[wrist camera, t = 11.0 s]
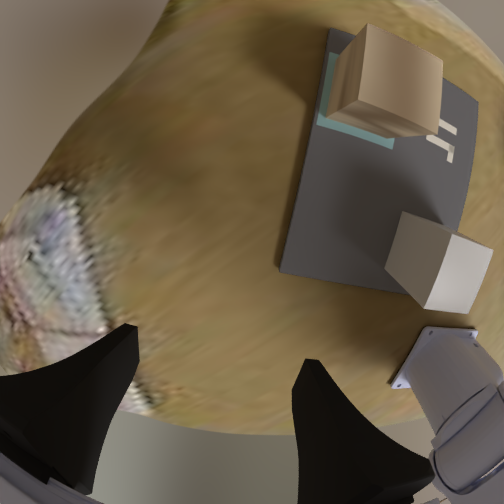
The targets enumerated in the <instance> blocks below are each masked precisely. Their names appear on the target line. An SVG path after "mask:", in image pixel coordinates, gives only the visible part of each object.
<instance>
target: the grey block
mask: <svg viewBox="0 0 504 504" xmlns="http://www.w3.org/2000/svg"><path fill="white" fill-rule="evenodd" d="M492 253H493V250H492V249H490V248H488V247H487V246H485V245H483V244H481V243H479V242H477V241H475V240H473V239H471V238H469V237H467V236H465V235H463V234H461V233H459V232H457V231H455V230H453V229H450V228H448V227H446V226H444V225H441V224H439V223H436V222H433V221H430V220H428V219H425V218H422V217H419V216H416V215H413V214H410V213H407V212H404V211H402V214H401V217H400V221H399V224H398V228H397V231H396V234H395V238H394V241H393V244H392V247H391V250H390V253H389V256H388V259H387V262H386V265H385V268H384V269H385V270H386V271H387V272H388V273H389V274H390V275H391V276H392V277H393V278H394V279H395V280H396V281H397V282H398V283H399V284H400V285H401V286H402V287H403V288H404V289H405V290H406V291H407V292H408V293H409V294H410V295H411V296H412V297H413V298H414V299H415V300H416V301H417V302H418V303H419V304H420V306H421V307H422V308H423V309H429V310H437V311H445V312H454V313H463V314H468V313H469V311H470V308H471V306H472V304H473V302H474V300H475V298H476V295H477V293H478V291H479V288H480V286H481V283H482V281H483V278H484V276H485V273H486V270H487V268H488V265H489V262H490V259H491V256H492Z"/></svg>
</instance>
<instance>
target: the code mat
mask: <svg viewBox="0 0 504 504" xmlns="http://www.w3.org/2000/svg"><path fill="white" fill-rule="evenodd" d="M355 37H356V36H355V35H352V34H349V33H346V32H343V31H340V30H337V29H334V28H330V29H329V32H328V38H327V44H326V50H325V56H324V61H323V67H322V73H321V78H320V83H319V89H318V94H317V99H316V104H315V110H314V115H313V120H312V125H311V130H310V134H309V139H308V144H307V149H306V154H305V158H304V163H303V167H302V172H301V177H300V181H299V186H298V190H297V194H296V199H295V203H294V208H293V212H292V216H291V220H290V225H289V229H288V233H287V237H286V241H285V245H284V250H283V254H282V258H281V262H280V266H279V272H281V273H286V274H292V275H297V276H303V277H308V278H314V279H319V280H325V281H331V282H336V283H342V284H348V285H353V286H359V287H365V288H371V289H377V290H383V291H389V292H395V293H401V294H407V295H410V294H409V293H408V292H407V291H406V290H405V289H404V288H403V287H402V286H401V285H400V284H399V283H398V282H397V281H396V280H395V279H394V278H393V277H392V276H391V275H390V274H389V273H388V272H387V271H386V270H385V269H384V268H385V265H386V262H387V259H388V256H389V253H390V250H391V247H392V244H393V241H394V238H395V234H396V231H397V228H398V224H399V221H400V217H401V214H402V211H404V212H407V213H410V214H413V215H416V216H419V217H422V218H425V219H428V220H430V221H433V222H436V223H439V224H441V225H444V226H446V227H448V228H450V229H453V230H455V231H457V230H458V227H459V223H460V220H461V216H462V212H463V208H464V204H465V200H466V196H467V191H468V186H469V181H470V176H471V170H472V164H473V158H474V151H475V143H476V133H477V121H478V101H476V100H475V99H474V98H472V97H471V96H469V95H468V94H467V93H465V92H464V91H462V90H461V89H459V88H458V87H456V86H455V85H453V84H452V83H450V82H449V81H447V80H446V79H444V78H442V97H441V109H440V119H439V127H438V135H422V136H409V137H398V138H388V139H386V138H384V137H381V136H378V135H376V134H373V133H370V132H367V131H364V130H362V129H359V128H356V127H353V126H350V125H346V124H343V123H340V122H337V121H333V120H330V119H327V118H326V112H327V107H328V102H329V96H330V91H331V85H332V79H333V74H334V68H335V62H336V59H337V58H338V57H339V55H340V54H341V53H342V52H343V51H344V49H345V48H346V47H347V46H348V45H349V44H350V42H351V41H352V40H353V39H354V38H355Z"/></svg>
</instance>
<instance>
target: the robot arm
mask: <svg viewBox="0 0 504 504" xmlns="http://www.w3.org/2000/svg"><path fill="white" fill-rule="evenodd" d="M477 334H478V331H477V330H476V329H460V328H443V327H429V326H427V327H425V328H424V329H423V330H422V332H421V334H420V336H419V338H418V339H417V341H416V343H415V345H414V347H413V349H412V350H411V352H410V354H409V356H408V357H407V359H406V361H405V362H404V364H403V366H402V367H401V369H400V371H399V372H398V374H397V375H396V377H395V378H394V380H393V381H392V383H391V385H390V386H391V388H392V389H398V388H412V390H413V392H414V394H415V396H416V398H417V399H418V401H419V403H420V405H421V407H422V409H423V411H424V413H425V415H426V417H427V418H428V421H429V423H430V424H431V427H432V429H433V431H434V433H435V435H436V437H435V438H434V439H433V440H432V441H431V443H432V445H433V448H434V449H433V450H432V451H431V453H430V454H429V458H428V459H427V458H425V457H423V456H420V455H418V454H416V453H414V452H412V451H410V450H408V449H407V448H405V447H403V446H402V445H400V444H398V443H397V442H395V441H394V440H392V439H391V438H389V437H388V436H386V435H385V434H384V433H383V432H381V431H380V430H379V429H378V428H376V427H375V426H374V425H373V424H372V423H371V422H370V421H368V420H367V419H366V418H365V417H364V416H363V415H362V414H361V413H360V412H359V411H358V410H357V409H356V407H355V406H354V405H353V404H352V403H351V402H350V401H349V399H348V398H347V397H346V396H345V395H344V393H343V392H342V391H341V390H340V388H339V387H338V386H337V384H336V383H335V382H334V380H333V379H332V378H331V376H330V375H329V373H328V372H327V371H326V369H325V368H324V366H323V365H322V364H321V362H320V361H319V360H315V359H305V361H304V363H303V365H302V368H301V370H300V372H299V375H298V377H297V379H296V381H295V384H294V386H293V388H292V413H293V420H294V427H295V434H296V440H297V448H298V457H299V485H298V486H299V487H298V503H297V504H411V503H413V502H414V498H413V495H414V494H415V493H417V492H418V491H420V490H421V489H423V488H424V487H425V486H427V485H428V484H429V483H431V482H432V483H433V485H434V486H435V487H436V488H437V489H438V490H439V491H440V492H442V493H443V494H444V495H445V496H446V497H447V498H448V500H449V501H450V502H451V504H504V462H503V463H502V464H500V465H499V466H498V467H497V468H496V469H494V470H493V471H492V472H491V473H489V474H488V475H487V476H485V477H483V478H481V477H482V476H483V475H485V474H486V473H487V472H489V471H490V470H491V469H492V468H494V467H495V466H496V465H497V464H498V463H499V462H501V461H502V460H503V459H504V379H503V373H502V370H501V368H500V367H499V365H498V364H497V363H496V362H495V361H494V360H493V358H492V357H491V356H490V355H489V354H488V353H487V352H486V351H485V349H484V348H483V347H482V346H481V345H480V344H479V343H478V342H477V341H476V340H475V338H476V336H477ZM139 361H140V359H139V345H138V327H137V326H133V325H130V324H126V323H124V324H123V325H121V326H120V327H118V328H116V329H115V330H113V331H112V332H110V333H109V334H107V335H106V336H104V337H103V338H101V339H100V340H98V341H96V342H95V343H93V344H92V345H90V346H88V347H86V348H85V349H83V350H81V351H79V352H77V353H76V354H74V355H72V356H70V357H68V358H66V359H63V360H61V361H59V362H56V363H54V364H51V365H48V366H45V367H42V368H39V369H36V370H33V371H29V372H25V373H20V374H14V375H7V376H0V503H1V504H103V503H101V502H99V501H96V500H94V499H92V498H90V497H87V496H85V495H89V494H91V493H92V489H93V484H94V478H95V473H96V469H97V465H98V461H99V457H100V453H101V450H102V446H103V443H104V440H105V437H106V434H107V431H108V428H109V425H110V423H111V420H112V418H113V416H114V414H115V412H116V410H117V408H118V406H119V404H120V403H121V401H122V399H123V397H124V395H125V393H126V391H127V389H128V387H129V386H130V384H131V382H132V380H133V377H134V375H135V372H136V369H137V367H138V364H139ZM480 478H481V479H480ZM424 504H440V502H439V499H438V498H435V499H433V500H431V501H428V502H426V503H424Z"/></svg>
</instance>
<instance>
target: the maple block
mask: <svg viewBox="0 0 504 504" xmlns="http://www.w3.org/2000/svg"><path fill="white" fill-rule="evenodd" d="M442 77H443V61H442V60H441V59H439V58H437V57H436V56H434V55H432V54H431V53H429V52H427V51H426V50H424V49H422V48H420V47H418V46H416V45H415V44H413V43H411V42H409V41H407V40H405V39H403V38H401V37H399V36H397V35H394V34H392V33H390V32H388V31H386V30H383V29H381V28H379V27H376V26H374V25H371V24H369V23H367V24H366V25H365V26H364V28H363V29H362V30H361V31H360V32H359V33H358V34H357V35H356V37H355V38H354V39H353V40H352V41H351V42H350V44H349V45H348V46H347V47H346V48H345V49H344V51H343V52H342V53H341V54H340V55H339V57H338V58H337V59H336V62H335V68H334V74H333V79H332V85H331V91H330V96H329V102H328V107H327V112H326V118H327V119H330V120H333V121H337V122H340V123H343V124H346V125H350V126H353V127H356V128H359V129H362V130H364V131H367V132H370V133H373V134H376V135H378V136H381V137H384V138H386V139H388V138H398V137H409V136H422V135H438V127H439V119H440V109H441V97H442Z"/></svg>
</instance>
